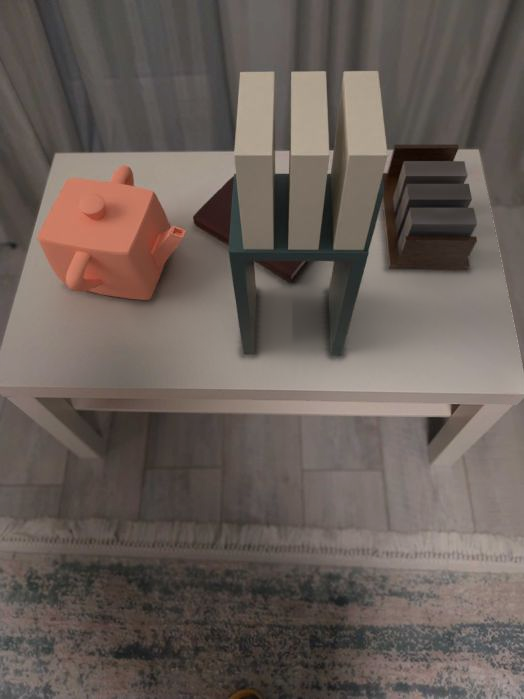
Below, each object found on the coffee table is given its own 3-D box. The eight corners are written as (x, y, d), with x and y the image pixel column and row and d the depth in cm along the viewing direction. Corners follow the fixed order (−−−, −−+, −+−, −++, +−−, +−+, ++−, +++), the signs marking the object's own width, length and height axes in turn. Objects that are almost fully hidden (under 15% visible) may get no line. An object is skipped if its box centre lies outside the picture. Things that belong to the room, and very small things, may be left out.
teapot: (49, 314, 75) (3, 259, 62) (101, 204, 84) (70, 137, 72) (174, 338, 73) (153, 286, 60) (214, 222, 82) (202, 156, 69)
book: (289, 286, 76) (290, 274, 73) (194, 227, 81) (191, 214, 78) (334, 233, 80) (337, 220, 77) (241, 181, 86) (239, 166, 83)
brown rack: (467, 269, 76) (490, 231, 68) (388, 269, 77) (402, 231, 69) (450, 177, 85) (468, 133, 76) (379, 177, 85) (390, 134, 77)
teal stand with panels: (338, 292, 75) (384, 68, 43) (341, 355, 71) (394, 157, 38) (246, 291, 76) (222, 69, 43) (243, 354, 71) (214, 158, 39)
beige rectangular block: (243, 249, 50) (234, 155, 39) (247, 175, 54) (240, 71, 43) (273, 249, 49) (272, 155, 39) (275, 175, 54) (274, 71, 43)
